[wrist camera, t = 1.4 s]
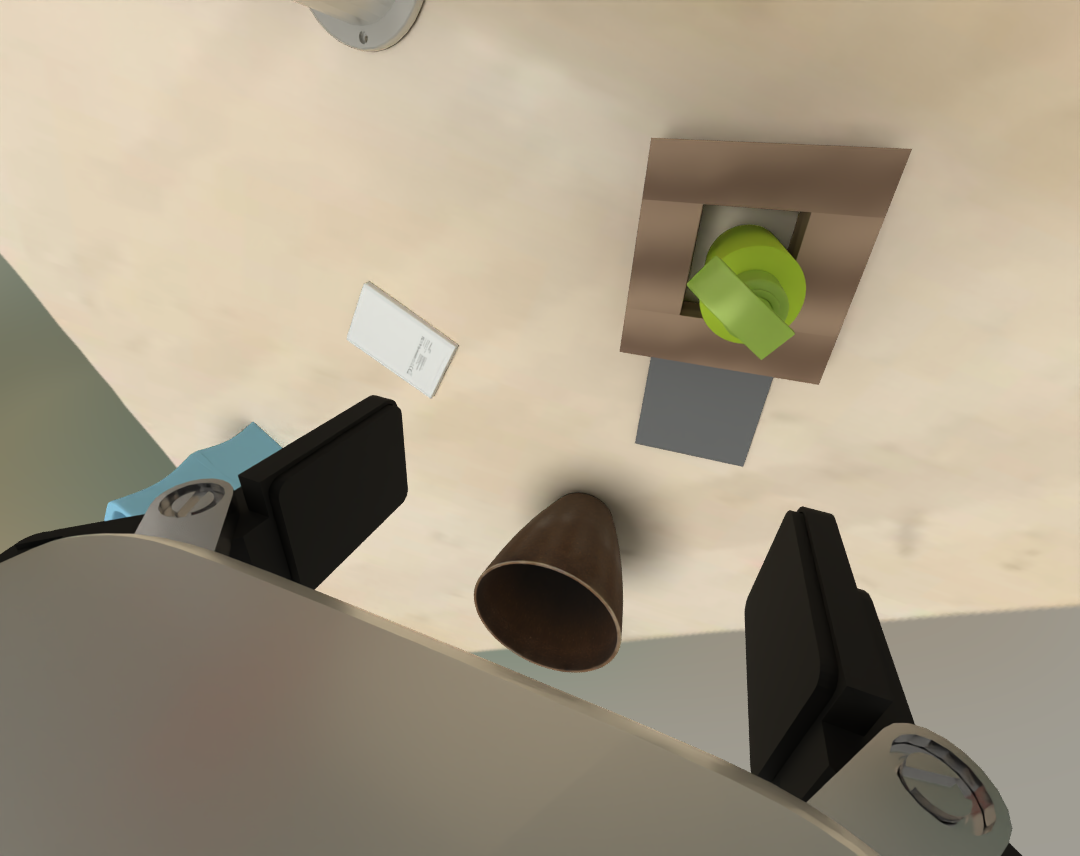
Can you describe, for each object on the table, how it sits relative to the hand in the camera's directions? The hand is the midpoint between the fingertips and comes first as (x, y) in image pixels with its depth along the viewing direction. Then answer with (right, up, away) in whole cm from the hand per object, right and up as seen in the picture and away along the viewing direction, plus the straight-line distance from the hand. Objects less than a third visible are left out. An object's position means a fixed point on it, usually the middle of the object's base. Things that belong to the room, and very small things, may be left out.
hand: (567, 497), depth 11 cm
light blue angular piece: (-44, -2, +62) cm, 76 cm away
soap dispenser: (+16, +16, +28) cm, 36 cm away
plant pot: (+5, -9, +46) cm, 47 cm away
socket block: (+16, +16, +27) cm, 36 cm away
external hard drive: (-17, +12, +43) cm, 48 cm away
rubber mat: (+15, +4, +34) cm, 38 cm away
